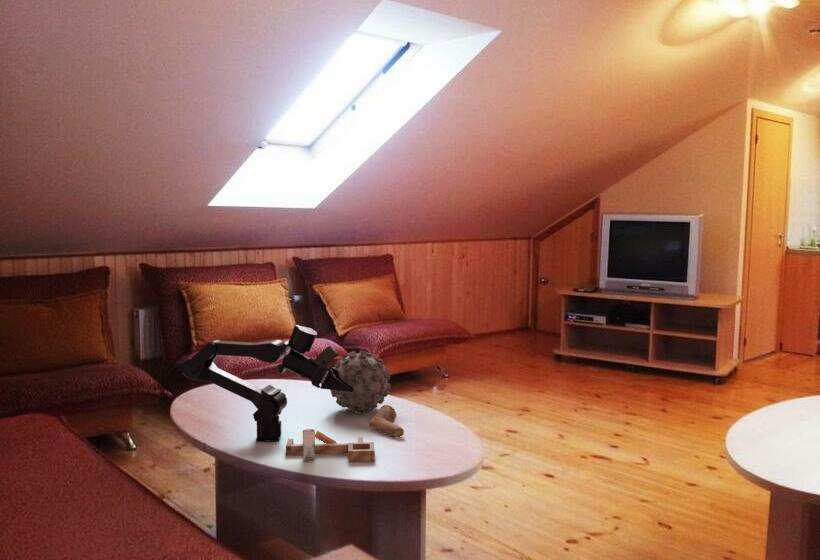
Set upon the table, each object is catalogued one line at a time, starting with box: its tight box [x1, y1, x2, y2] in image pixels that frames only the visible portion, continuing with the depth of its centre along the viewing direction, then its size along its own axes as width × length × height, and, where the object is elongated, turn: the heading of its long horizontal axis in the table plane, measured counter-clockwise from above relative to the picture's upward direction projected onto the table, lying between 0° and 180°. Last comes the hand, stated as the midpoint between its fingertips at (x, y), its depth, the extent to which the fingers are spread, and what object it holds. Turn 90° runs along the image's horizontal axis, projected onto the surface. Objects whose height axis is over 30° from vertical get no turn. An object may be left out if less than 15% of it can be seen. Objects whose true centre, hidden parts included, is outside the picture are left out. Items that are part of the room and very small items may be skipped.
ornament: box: [329, 350, 391, 414], centre depth 237 cm, size 20×20×20 cm
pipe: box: [368, 404, 405, 439], centre depth 217 cm, size 6×17×10 cm
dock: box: [285, 436, 376, 463], centre depth 195 cm, size 24×13×3 cm, turn 95°
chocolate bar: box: [315, 430, 338, 444], centre depth 206 cm, size 3×12×2 cm, turn 33°
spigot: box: [302, 428, 316, 463], centre depth 190 cm, size 3×3×8 cm
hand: (351, 390), depth 203 cm, fingers open, 9 cm apart
